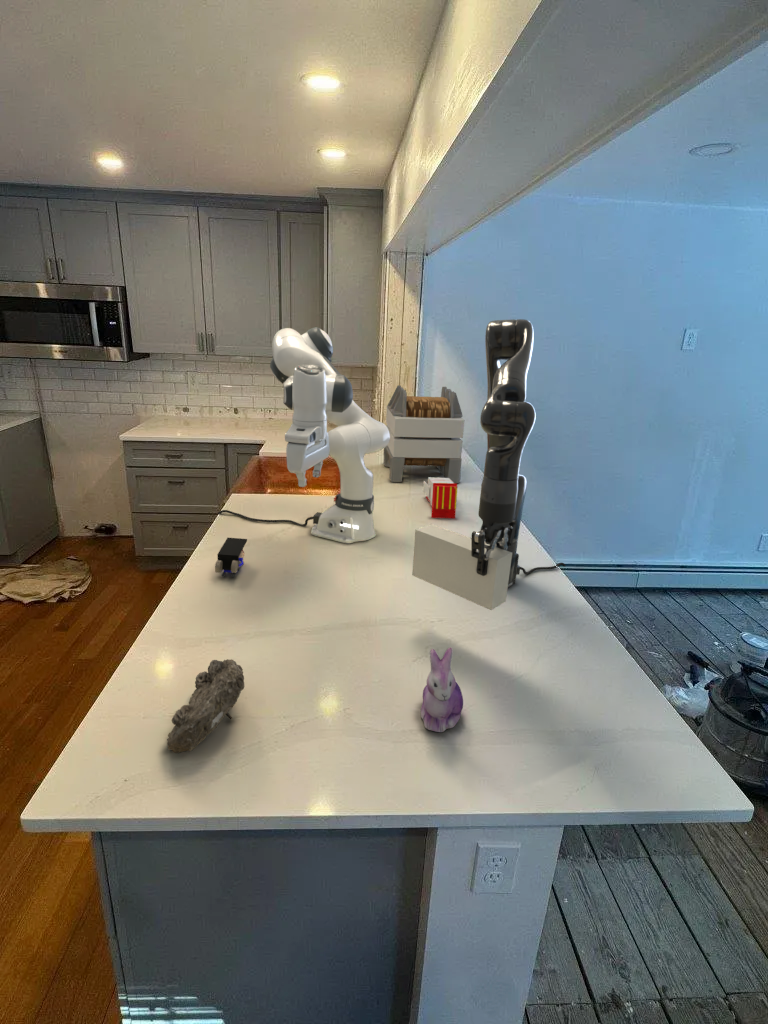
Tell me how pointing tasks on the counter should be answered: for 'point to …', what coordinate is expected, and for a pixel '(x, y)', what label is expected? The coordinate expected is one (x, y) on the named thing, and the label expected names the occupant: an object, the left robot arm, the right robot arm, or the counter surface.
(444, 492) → the toy
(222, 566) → the black toy rover
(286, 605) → the counter surface
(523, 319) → the right robot arm
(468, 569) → the box
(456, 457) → the transformer
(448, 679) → the figurine
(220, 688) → the fossil
